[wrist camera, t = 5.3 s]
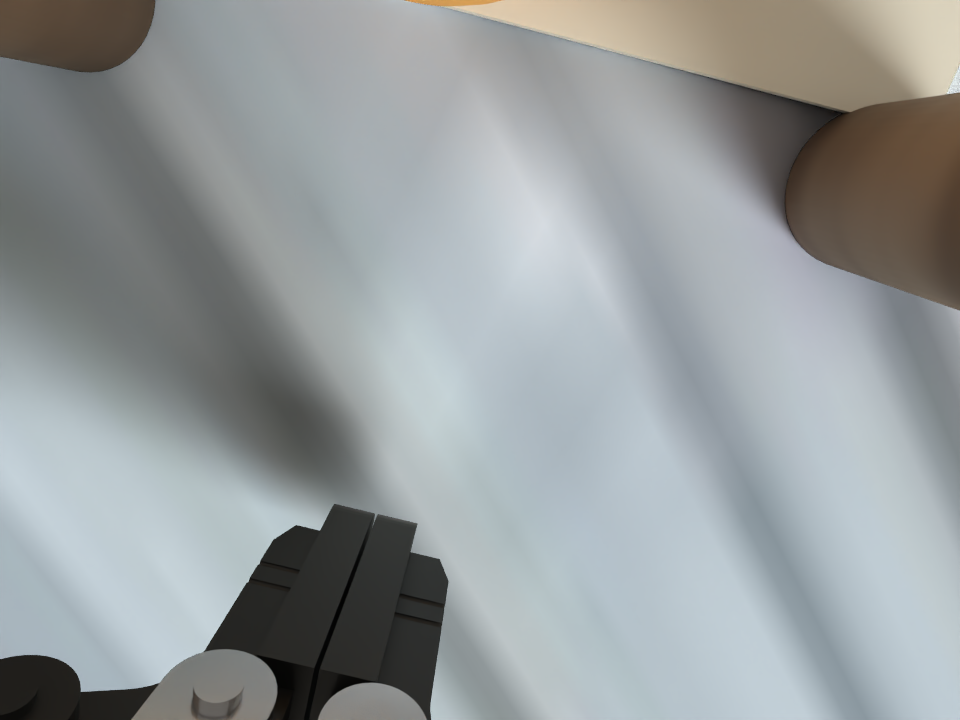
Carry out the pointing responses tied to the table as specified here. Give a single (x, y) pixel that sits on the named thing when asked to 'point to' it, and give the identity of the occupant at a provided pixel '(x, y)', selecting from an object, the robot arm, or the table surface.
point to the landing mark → (768, 42)
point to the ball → (454, 2)
